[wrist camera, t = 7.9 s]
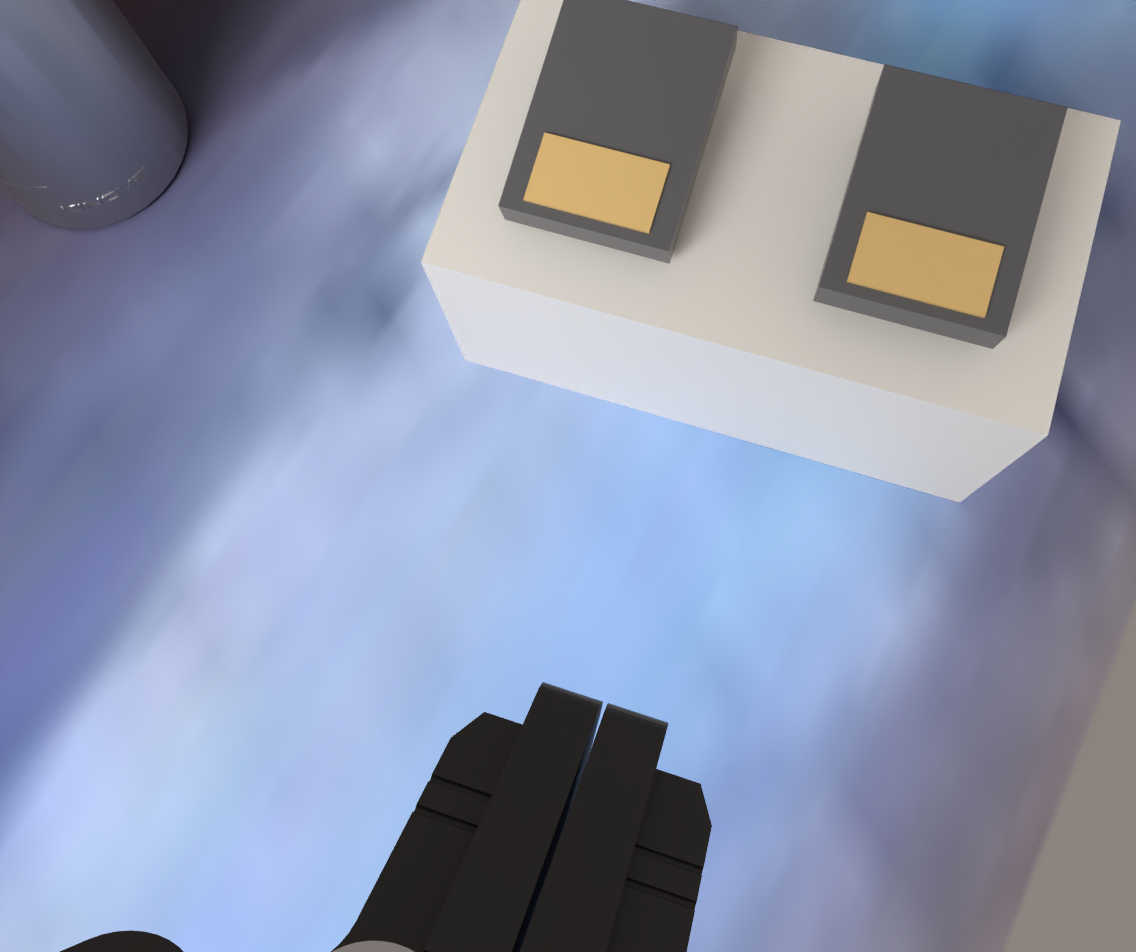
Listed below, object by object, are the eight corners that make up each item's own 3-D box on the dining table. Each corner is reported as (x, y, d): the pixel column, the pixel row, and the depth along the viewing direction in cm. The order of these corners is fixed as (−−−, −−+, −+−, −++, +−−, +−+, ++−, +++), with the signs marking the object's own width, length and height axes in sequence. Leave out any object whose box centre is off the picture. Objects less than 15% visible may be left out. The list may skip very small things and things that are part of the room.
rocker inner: (505, 219, 38) (497, 204, 36) (572, 8, 38) (567, -17, 37) (669, 263, 37) (668, 249, 35) (736, 47, 37) (738, 24, 36)
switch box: (465, 360, 48) (416, 253, 37) (549, 128, 50) (526, -33, 40) (959, 502, 45) (1055, 429, 34) (1022, 248, 47) (1129, 109, 37)
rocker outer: (812, 301, 36) (819, 285, 34) (876, 85, 37) (885, 61, 35) (992, 349, 35) (1007, 335, 34) (1052, 127, 36) (1069, 104, 35)
